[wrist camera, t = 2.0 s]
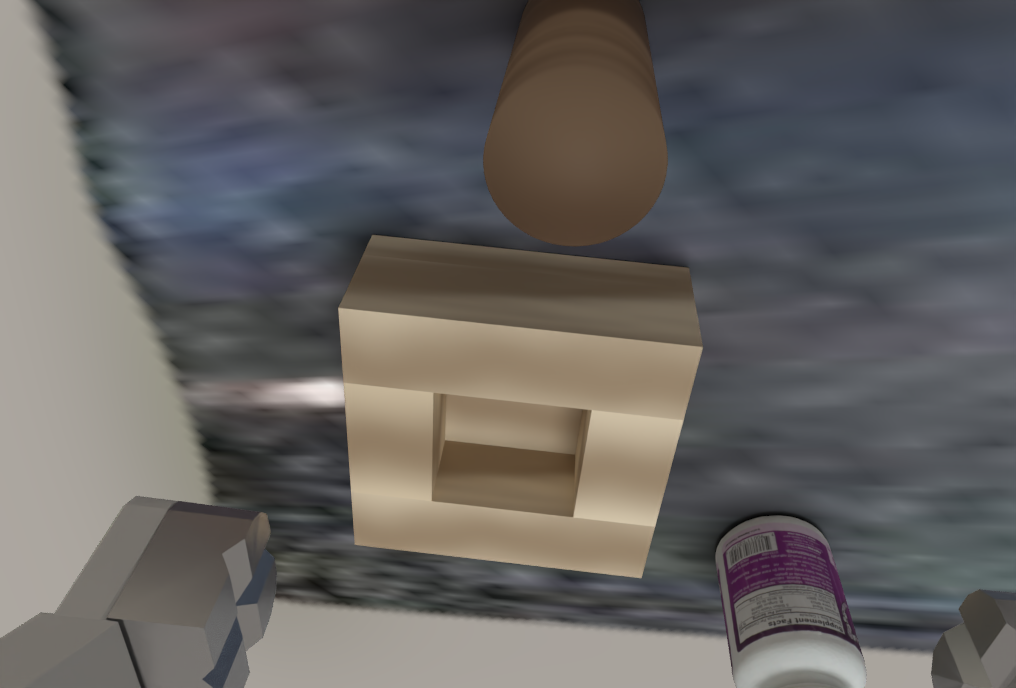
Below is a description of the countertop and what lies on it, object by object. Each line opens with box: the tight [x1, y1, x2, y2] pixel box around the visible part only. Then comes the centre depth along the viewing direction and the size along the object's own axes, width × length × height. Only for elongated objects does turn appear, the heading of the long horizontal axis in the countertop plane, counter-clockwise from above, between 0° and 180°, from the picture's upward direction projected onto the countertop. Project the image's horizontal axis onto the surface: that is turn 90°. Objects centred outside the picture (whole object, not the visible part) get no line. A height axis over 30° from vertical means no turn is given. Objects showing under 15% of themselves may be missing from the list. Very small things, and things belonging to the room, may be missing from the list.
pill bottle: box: [715, 515, 866, 688], centre depth 35 cm, size 5×5×10 cm
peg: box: [483, 0, 668, 246], centre depth 22 cm, size 4×4×10 cm
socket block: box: [338, 235, 703, 578], centre depth 32 cm, size 12×12×5 cm
